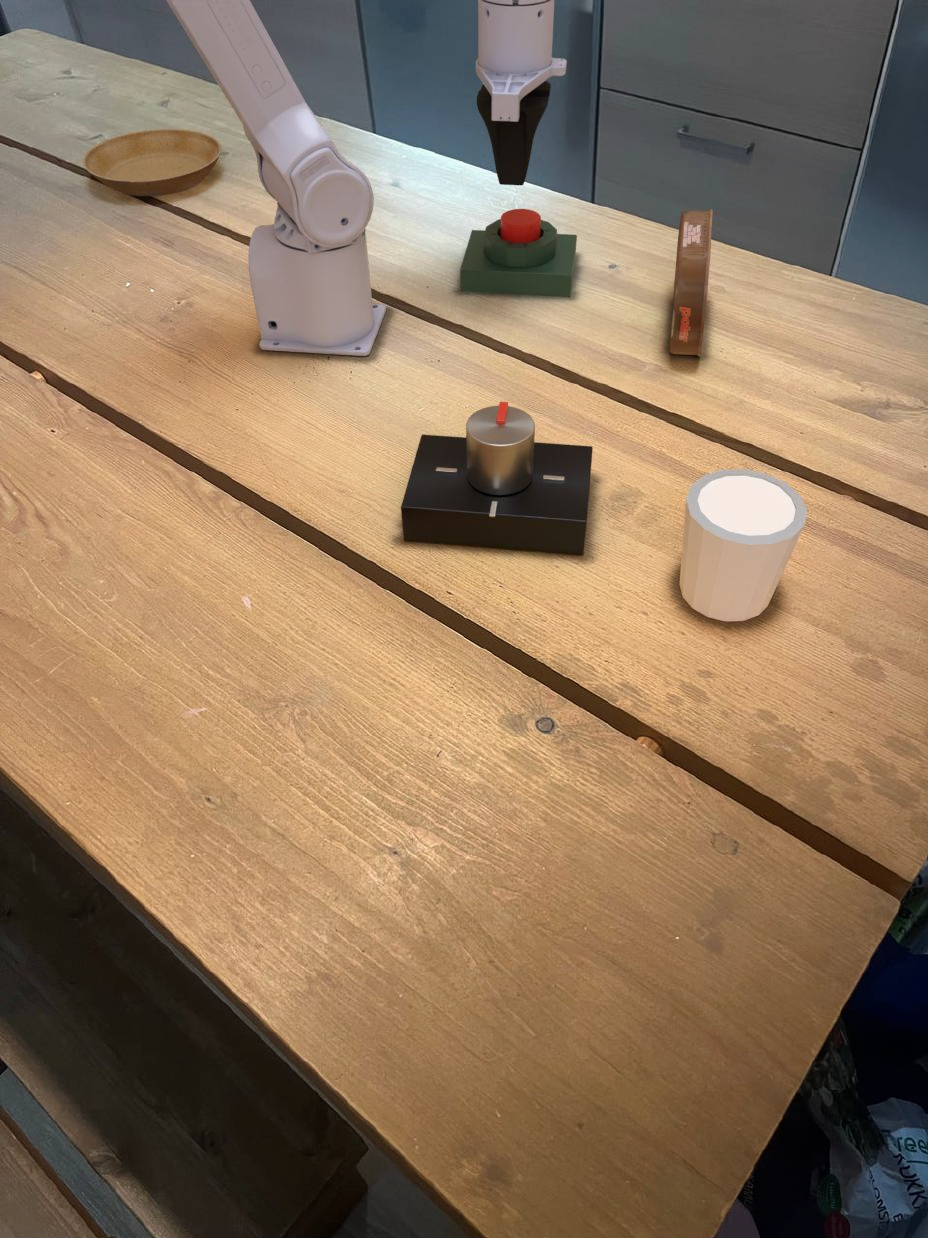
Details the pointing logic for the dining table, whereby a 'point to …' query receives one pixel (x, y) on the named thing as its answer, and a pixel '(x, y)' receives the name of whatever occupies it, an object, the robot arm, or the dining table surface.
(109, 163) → the plant saucer
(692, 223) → the brown rectangular box
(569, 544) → the panel
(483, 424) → the knob
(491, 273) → the button box
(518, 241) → the button
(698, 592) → the white cylinder
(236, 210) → the dining table surface
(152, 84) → the dining table surface
